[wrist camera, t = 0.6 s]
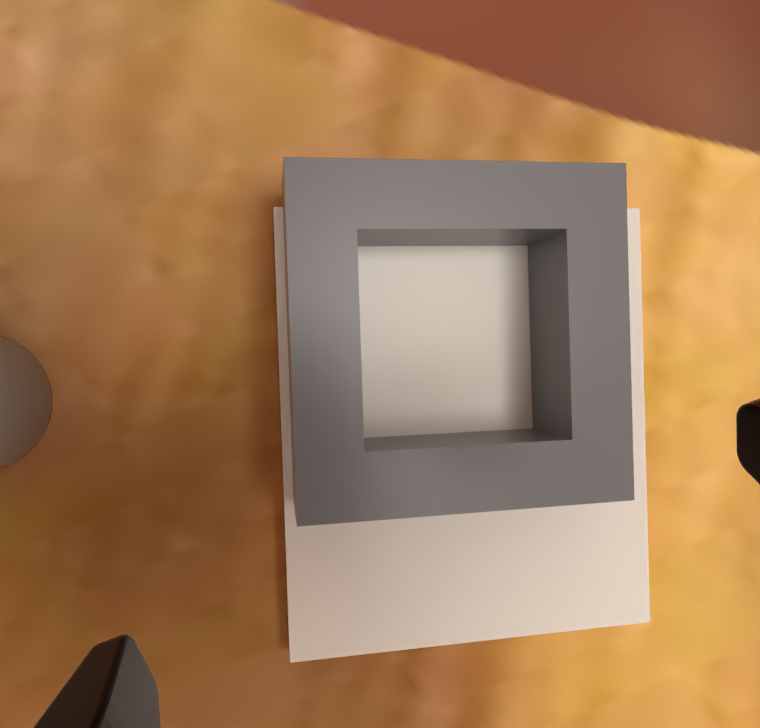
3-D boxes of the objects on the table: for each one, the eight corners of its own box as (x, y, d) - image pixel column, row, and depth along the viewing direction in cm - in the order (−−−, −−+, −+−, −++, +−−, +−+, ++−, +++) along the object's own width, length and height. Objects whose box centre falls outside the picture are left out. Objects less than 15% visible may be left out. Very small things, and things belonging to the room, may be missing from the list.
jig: (634, 611, 24) (705, 660, 20) (289, 648, 22) (293, 713, 18) (623, 196, 24) (693, 164, 20) (272, 193, 22) (272, 156, 18)
